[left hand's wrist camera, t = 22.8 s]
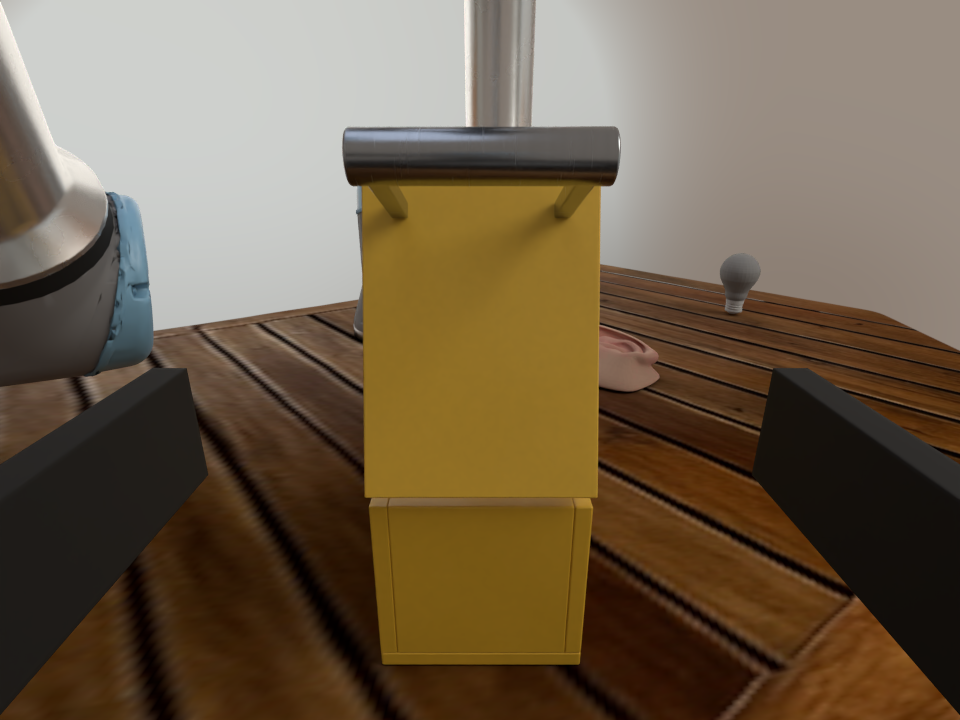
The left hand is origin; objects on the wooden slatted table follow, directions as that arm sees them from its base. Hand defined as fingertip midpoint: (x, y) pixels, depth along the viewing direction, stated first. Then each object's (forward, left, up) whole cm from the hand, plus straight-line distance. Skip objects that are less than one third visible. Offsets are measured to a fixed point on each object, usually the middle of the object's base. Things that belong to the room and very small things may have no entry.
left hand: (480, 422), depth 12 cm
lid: (-9, +8, -2) cm, 12 cm away
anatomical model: (-28, +45, -19) cm, 57 cm away
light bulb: (-31, +82, -19) cm, 90 cm away
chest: (-12, +11, -19) cm, 25 cm away
